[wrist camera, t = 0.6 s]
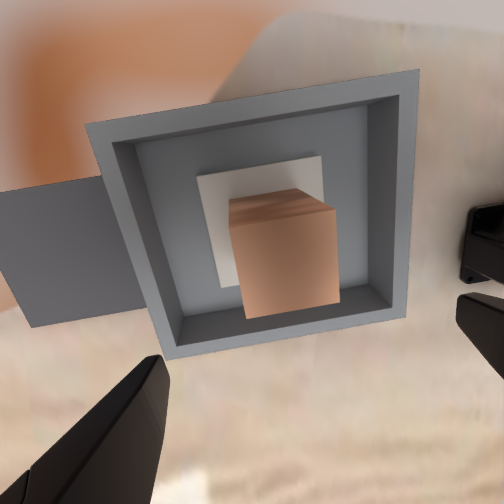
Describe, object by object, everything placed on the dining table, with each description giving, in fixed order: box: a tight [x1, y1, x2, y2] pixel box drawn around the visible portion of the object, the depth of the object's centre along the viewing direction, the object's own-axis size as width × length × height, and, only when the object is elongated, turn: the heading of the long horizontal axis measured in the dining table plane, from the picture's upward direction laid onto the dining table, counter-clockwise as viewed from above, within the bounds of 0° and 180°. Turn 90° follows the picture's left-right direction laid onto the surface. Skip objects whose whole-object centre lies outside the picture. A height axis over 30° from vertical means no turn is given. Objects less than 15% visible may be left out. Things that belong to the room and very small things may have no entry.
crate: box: [85, 69, 420, 361], centre depth 18 cm, size 17×15×4 cm
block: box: [229, 188, 340, 319], centre depth 15 cm, size 4×4×7 cm
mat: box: [0, 175, 147, 328], centre depth 19 cm, size 10×10×1 cm
